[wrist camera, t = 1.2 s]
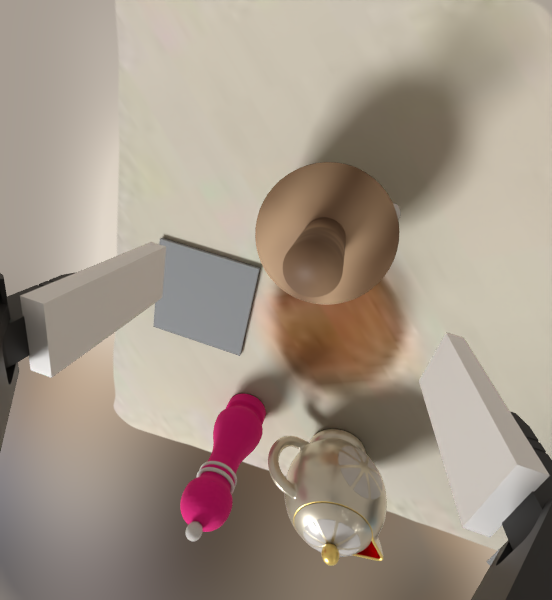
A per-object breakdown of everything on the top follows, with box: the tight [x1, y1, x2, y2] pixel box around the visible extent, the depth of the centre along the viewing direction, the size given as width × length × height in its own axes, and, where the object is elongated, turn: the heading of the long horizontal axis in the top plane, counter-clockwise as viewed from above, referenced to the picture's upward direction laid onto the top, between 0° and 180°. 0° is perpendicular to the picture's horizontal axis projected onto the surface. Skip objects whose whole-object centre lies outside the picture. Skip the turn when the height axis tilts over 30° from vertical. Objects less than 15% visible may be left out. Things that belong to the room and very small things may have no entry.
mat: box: [154, 238, 260, 356], centre depth 45 cm, size 14×14×1 cm
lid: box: [255, 162, 399, 304], centre depth 26 cm, size 13×13×10 cm
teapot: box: [268, 429, 387, 566], centre depth 43 cm, size 18×14×16 cm
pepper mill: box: [180, 393, 266, 541], centre depth 43 cm, size 7×7×20 cm
